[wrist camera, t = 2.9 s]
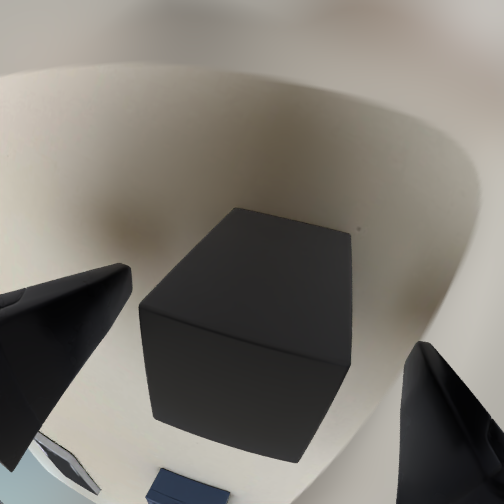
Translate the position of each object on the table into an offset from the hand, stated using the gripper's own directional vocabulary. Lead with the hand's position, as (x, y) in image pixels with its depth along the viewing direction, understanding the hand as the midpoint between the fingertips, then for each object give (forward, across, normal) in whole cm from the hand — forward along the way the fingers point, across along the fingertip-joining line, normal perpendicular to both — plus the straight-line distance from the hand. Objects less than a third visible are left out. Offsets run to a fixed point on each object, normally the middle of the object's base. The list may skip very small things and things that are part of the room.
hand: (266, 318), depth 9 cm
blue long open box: (+3, +3, +32) cm, 33 cm away
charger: (+3, 0, 0) cm, 3 cm away
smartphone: (+3, +24, +42) cm, 49 cm away
